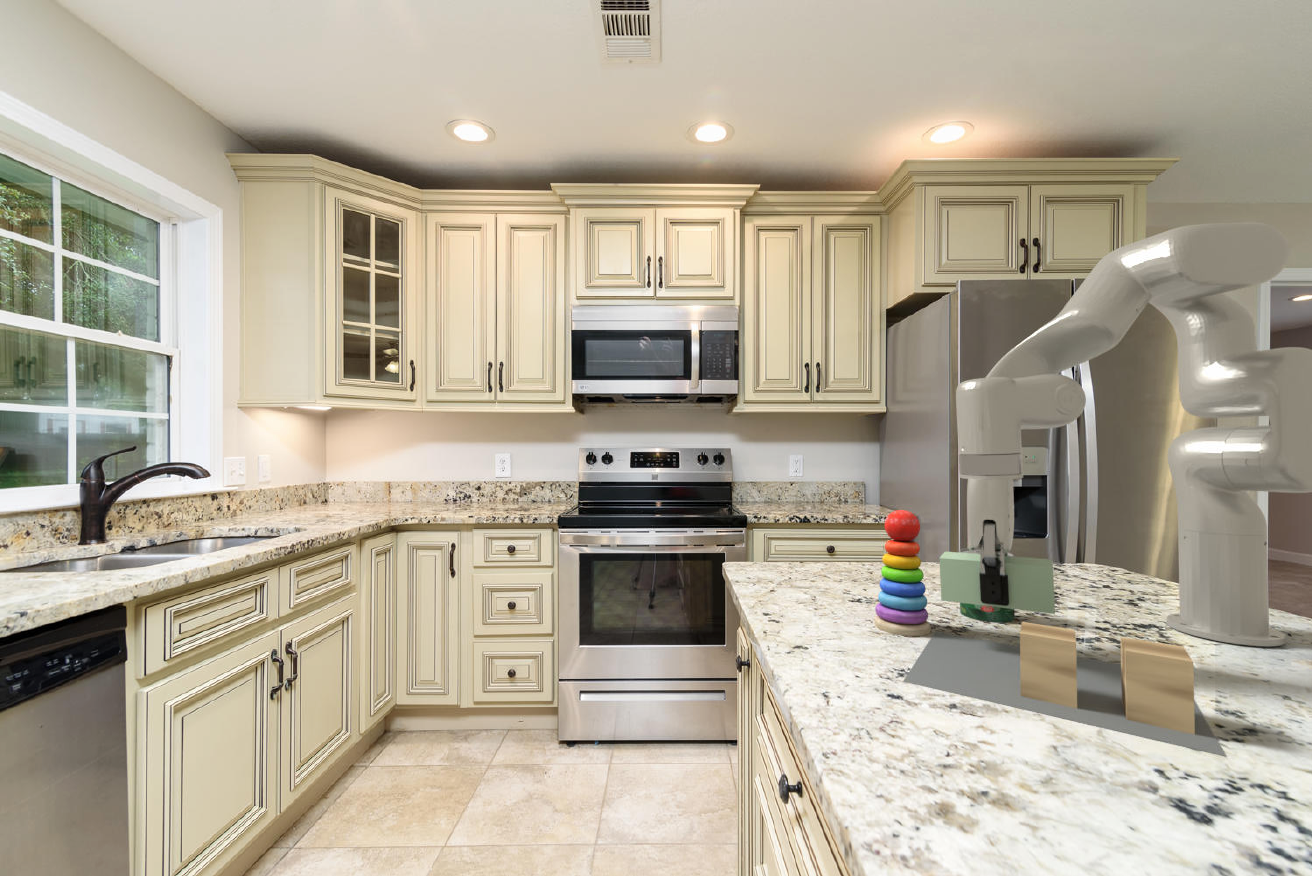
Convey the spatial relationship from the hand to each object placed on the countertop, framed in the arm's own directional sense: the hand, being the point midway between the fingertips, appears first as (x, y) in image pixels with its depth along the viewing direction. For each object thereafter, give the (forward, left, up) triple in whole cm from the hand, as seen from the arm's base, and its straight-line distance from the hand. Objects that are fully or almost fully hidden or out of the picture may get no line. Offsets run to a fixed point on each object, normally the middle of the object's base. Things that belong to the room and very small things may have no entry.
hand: (996, 597), depth 75 cm
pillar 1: (+13, +6, -7) cm, 16 cm away
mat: (+8, +5, -8) cm, 12 cm away
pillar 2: (+13, +15, -7) cm, 21 cm away
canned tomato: (-17, -3, -8) cm, 19 cm away
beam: (0, 0, -1) cm, 1 cm away
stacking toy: (-2, -13, -8) cm, 15 cm away
